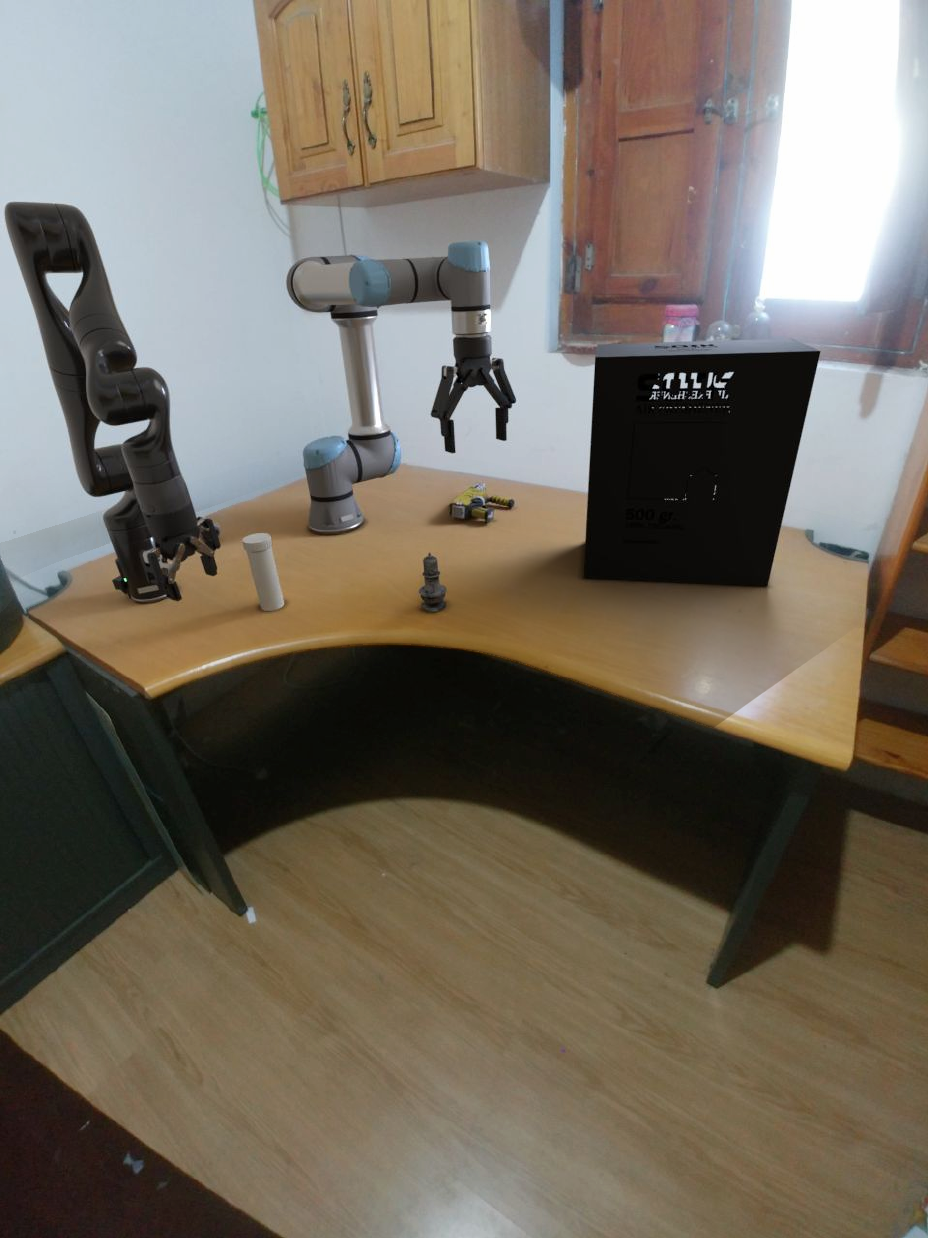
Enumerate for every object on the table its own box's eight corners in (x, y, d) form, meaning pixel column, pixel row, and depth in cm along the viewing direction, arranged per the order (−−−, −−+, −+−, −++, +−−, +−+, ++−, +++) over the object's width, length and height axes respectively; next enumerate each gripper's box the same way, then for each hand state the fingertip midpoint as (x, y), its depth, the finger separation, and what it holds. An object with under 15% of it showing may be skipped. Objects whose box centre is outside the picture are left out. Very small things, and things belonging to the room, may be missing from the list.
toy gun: (522, 487, 180) (475, 480, 184) (500, 511, 160) (447, 502, 164) (521, 502, 182) (474, 495, 186) (499, 527, 162) (447, 519, 166)
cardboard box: (748, 547, 142) (790, 338, 120) (767, 586, 125) (820, 350, 103) (586, 541, 150) (597, 344, 127) (583, 577, 133) (595, 357, 110)
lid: (262, 539, 126) (260, 530, 125) (278, 544, 123) (276, 536, 122) (238, 548, 122) (236, 539, 121) (254, 554, 119) (252, 545, 118)
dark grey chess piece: (444, 613, 122) (440, 559, 116) (416, 611, 123) (411, 558, 117) (450, 599, 127) (447, 547, 121) (424, 598, 128) (419, 546, 122)
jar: (275, 598, 132) (260, 533, 125) (288, 603, 130) (274, 538, 122) (256, 607, 129) (239, 541, 122) (269, 613, 126) (253, 546, 119)
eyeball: (210, 546, 160) (204, 525, 157) (195, 542, 163) (189, 521, 160) (228, 538, 164) (223, 518, 161) (213, 535, 167) (208, 514, 164)
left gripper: (181, 481, 103) (207, 563, 112) (111, 516, 92) (146, 603, 102) (215, 488, 100) (238, 571, 110) (147, 525, 90) (180, 613, 99)
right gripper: (429, 342, 108) (437, 460, 118) (533, 329, 120) (532, 437, 131) (407, 340, 113) (417, 454, 124) (508, 328, 125) (510, 432, 136)
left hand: (194, 586), depth 106 cm, fingers open, 8 cm apart
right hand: (476, 445), depth 127 cm, fingers open, 13 cm apart
